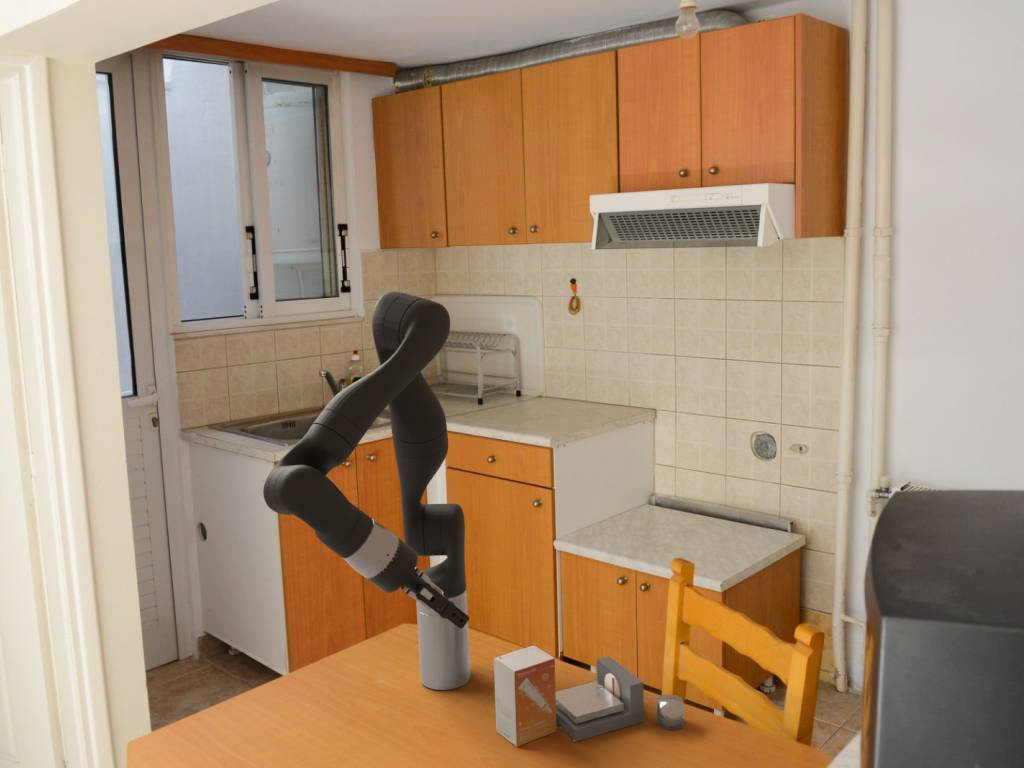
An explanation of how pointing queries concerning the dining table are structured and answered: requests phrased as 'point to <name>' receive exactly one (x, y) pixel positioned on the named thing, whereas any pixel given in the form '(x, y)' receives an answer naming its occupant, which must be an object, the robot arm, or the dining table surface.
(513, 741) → the small box
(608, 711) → the platter
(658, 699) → the cylinder
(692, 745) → the dining table surface
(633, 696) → the scale base
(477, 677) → the dining table surface
